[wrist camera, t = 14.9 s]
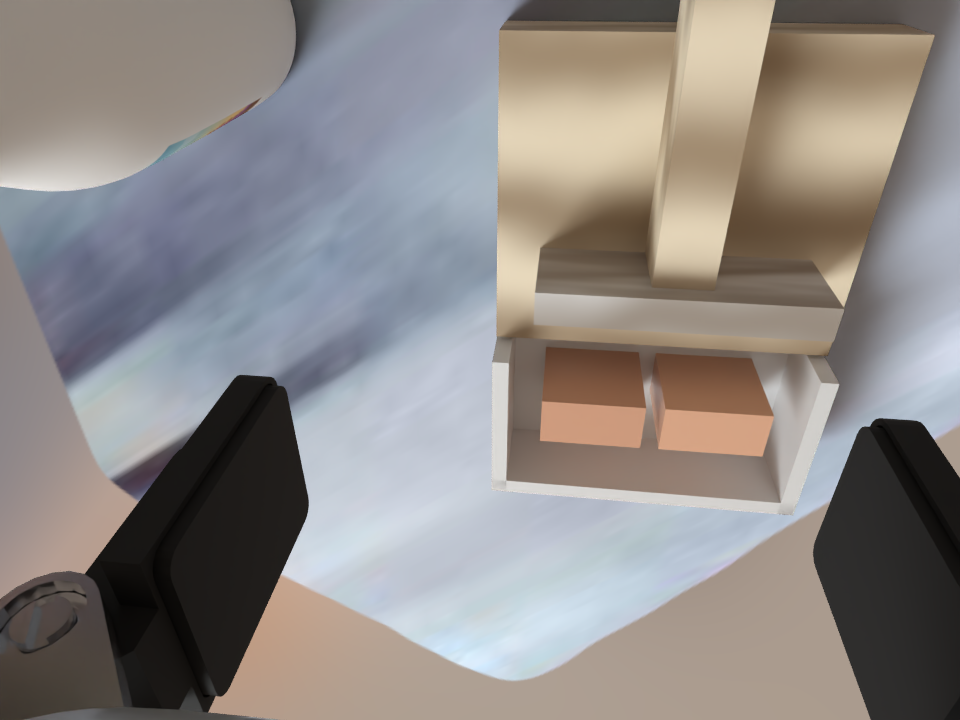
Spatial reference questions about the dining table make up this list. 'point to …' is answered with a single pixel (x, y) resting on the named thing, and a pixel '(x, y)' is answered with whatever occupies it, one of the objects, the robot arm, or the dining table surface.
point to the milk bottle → (128, 81)
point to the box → (648, 470)
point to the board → (636, 142)
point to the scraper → (695, 211)
